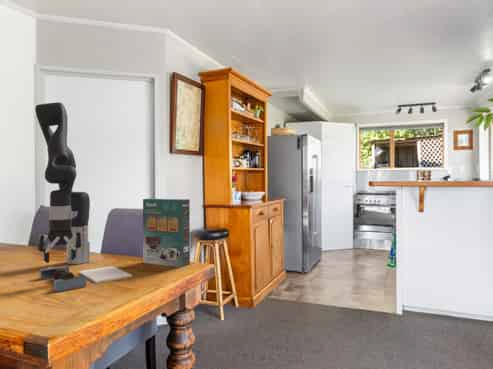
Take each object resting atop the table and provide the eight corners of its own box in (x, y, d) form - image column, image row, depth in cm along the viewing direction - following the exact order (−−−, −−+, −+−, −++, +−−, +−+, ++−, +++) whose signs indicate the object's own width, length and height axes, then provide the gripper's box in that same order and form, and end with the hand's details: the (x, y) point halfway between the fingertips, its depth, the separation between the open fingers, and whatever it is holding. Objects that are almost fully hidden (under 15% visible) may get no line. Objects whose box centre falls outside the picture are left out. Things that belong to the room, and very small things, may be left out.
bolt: (59, 283, 141) (70, 290, 129) (47, 278, 138) (56, 285, 126) (67, 269, 143) (78, 275, 131) (55, 264, 140) (65, 270, 128)
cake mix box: (189, 264, 164) (189, 199, 164) (182, 267, 159) (182, 199, 159) (151, 260, 173) (151, 198, 173) (143, 262, 168) (143, 199, 168)
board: (112, 267, 157) (112, 266, 157) (131, 276, 142) (131, 274, 142) (78, 273, 148) (78, 271, 148) (95, 283, 133) (95, 281, 133)
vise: (62, 271, 151) (62, 263, 151) (86, 286, 129) (86, 276, 129) (36, 275, 145) (36, 266, 145) (55, 292, 122) (55, 282, 122)
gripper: (77, 216, 142) (77, 257, 142) (36, 218, 132) (36, 262, 132) (83, 217, 136) (83, 260, 136) (41, 219, 127) (40, 265, 127)
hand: (60, 261), depth 134 cm, fingers open, 8 cm apart
